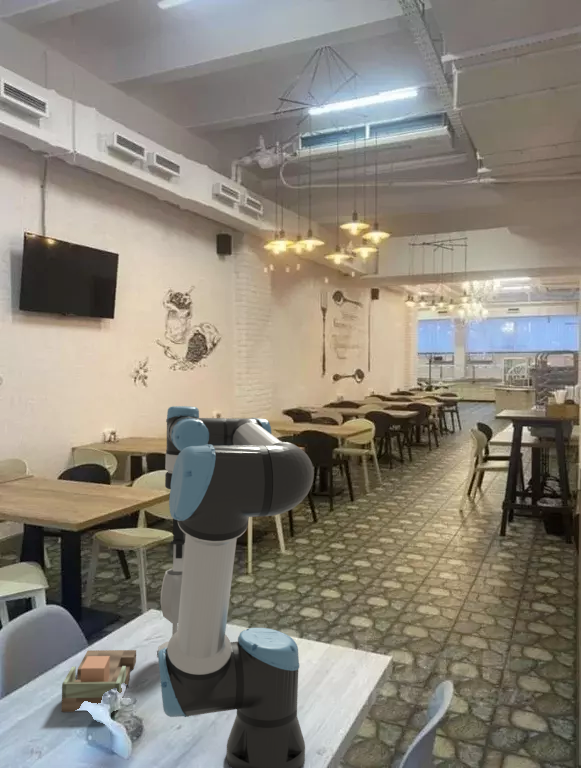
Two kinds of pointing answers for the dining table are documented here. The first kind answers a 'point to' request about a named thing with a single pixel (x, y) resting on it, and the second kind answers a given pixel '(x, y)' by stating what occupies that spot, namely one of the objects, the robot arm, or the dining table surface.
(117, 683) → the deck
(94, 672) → the block
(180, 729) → the dining table surface
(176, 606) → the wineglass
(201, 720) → the dining table surface
